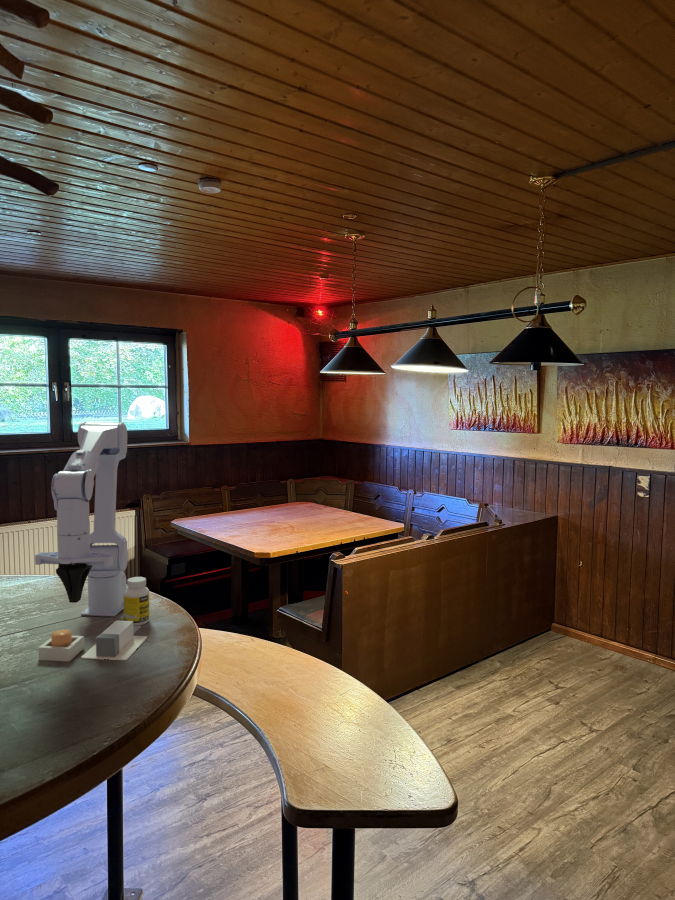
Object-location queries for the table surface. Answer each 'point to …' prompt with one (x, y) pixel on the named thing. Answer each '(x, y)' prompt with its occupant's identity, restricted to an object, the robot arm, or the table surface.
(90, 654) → the paper sheet
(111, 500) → the robot arm
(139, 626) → the card
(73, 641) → the button box
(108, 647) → the grey rectangular prism
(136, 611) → the supplement bottle
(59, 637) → the button
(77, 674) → the table surface
